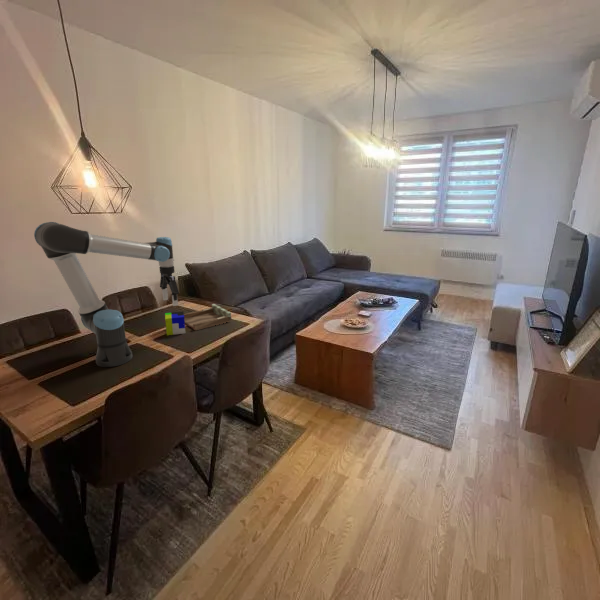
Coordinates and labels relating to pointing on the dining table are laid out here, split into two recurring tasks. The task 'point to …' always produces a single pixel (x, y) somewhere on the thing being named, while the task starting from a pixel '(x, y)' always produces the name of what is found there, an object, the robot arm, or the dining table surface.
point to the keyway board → (207, 317)
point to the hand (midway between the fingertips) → (170, 302)
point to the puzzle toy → (175, 323)
